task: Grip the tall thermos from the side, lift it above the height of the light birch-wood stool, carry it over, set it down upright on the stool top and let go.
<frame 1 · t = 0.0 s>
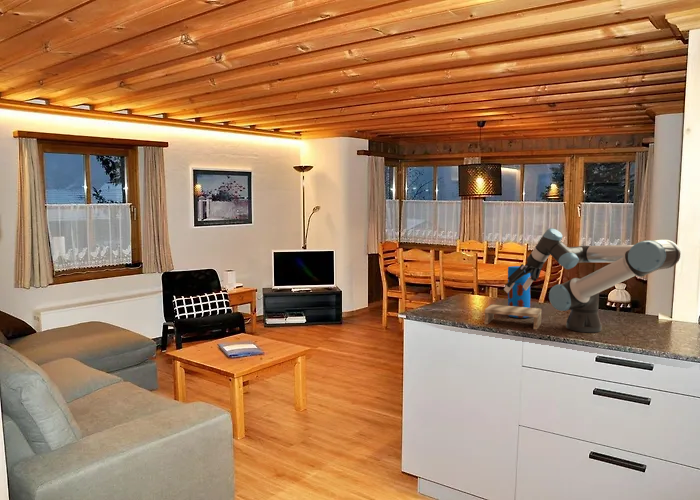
hand: (515, 289, 271), 15 cm above the worktop, tool tilted 35°, fingers open, 13 cm apart
stool: (512, 323, 266), on the worktop
thermos: (519, 316, 281), on the worktop, touching gripper
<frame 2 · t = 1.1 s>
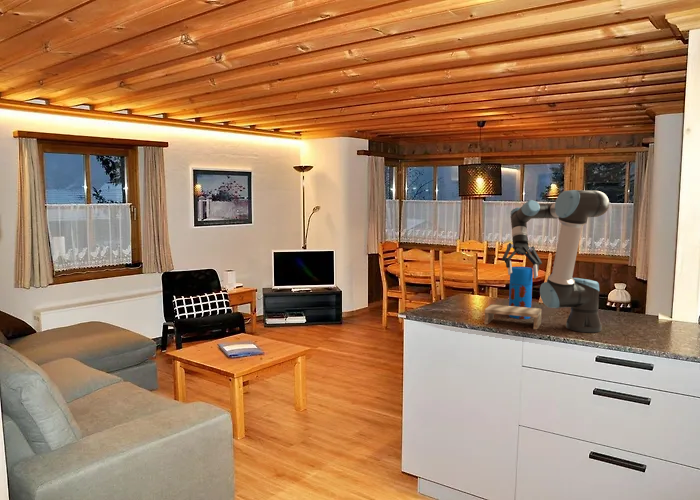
hand: (523, 275, 272), 22 cm above the worktop, tool tilted 30°, fingers open, 13 cm apart
thermos: (519, 317, 281), on the worktop
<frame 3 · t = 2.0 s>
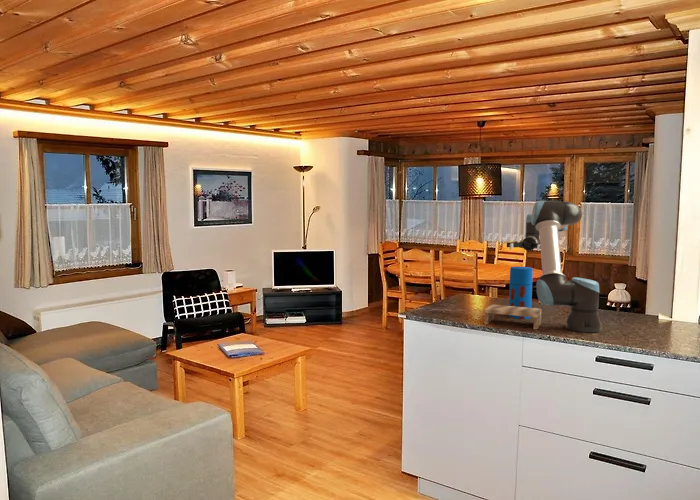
hand: (524, 247, 287), 34 cm above the worktop, tool horizontal, fingers open, 13 cm apart
nothing on the worktop moved.
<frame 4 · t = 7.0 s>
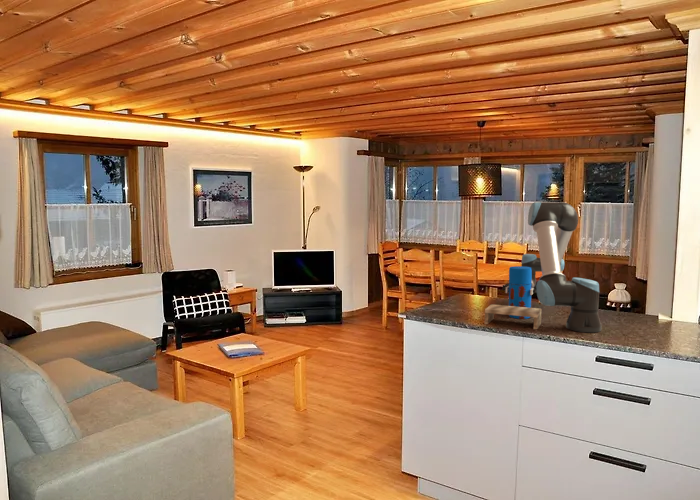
hand: (518, 291, 276), 14 cm above the worktop, tool horizontal, fingers open, 11 cm apart
thermos: (519, 316, 281), on the worktop, touching gripper
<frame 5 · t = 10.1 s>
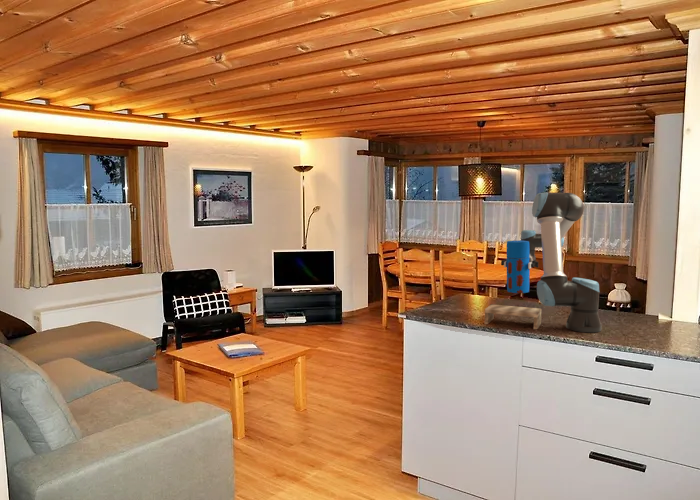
hand: (516, 265, 272), 27 cm above the worktop, tool horizontal, fingers closed on thermos, 11 cm apart
thermos: (518, 291, 277), point 13 cm above the worktop, touching gripper
when the fingers open (22 cm above the worktop, at t = 13.0 s): thermos drops 2 cm, resting on stool.
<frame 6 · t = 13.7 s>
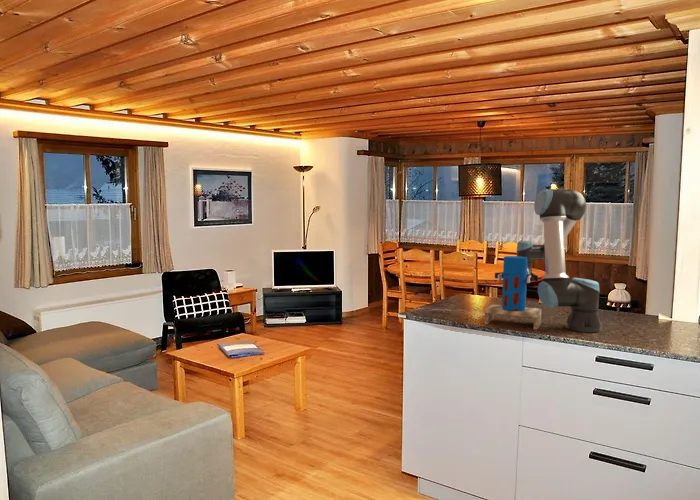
hand: (513, 279, 261), 22 cm above the worktop, tool horizontal, fingers open, 13 cm apart
thermos: (513, 309, 265), point 7 cm above the worktop, touching stool
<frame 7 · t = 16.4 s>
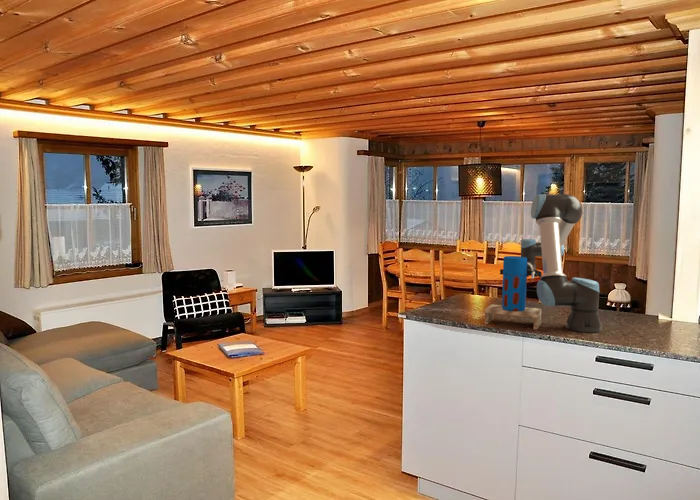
hand: (517, 275, 273), 22 cm above the worktop, tool horizontal, fingers open, 13 cm apart
nothing on the worktop moved.
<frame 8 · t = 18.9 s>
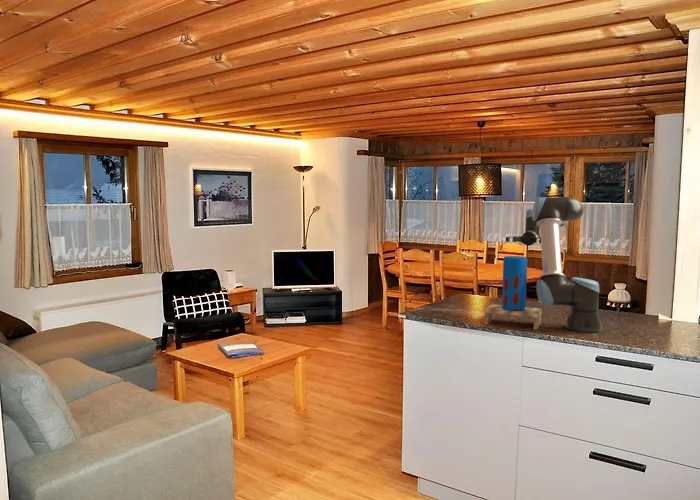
hand: (523, 241, 283), 38 cm above the worktop, tool horizontal, fingers open, 13 cm apart
nothing on the worktop moved.
at the end: thermos inside the target area on the stool (0.2 cm from its centre), point 6.8 cm above the stool's base; thermos tilted 0°; the gripper is holding nothing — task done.
